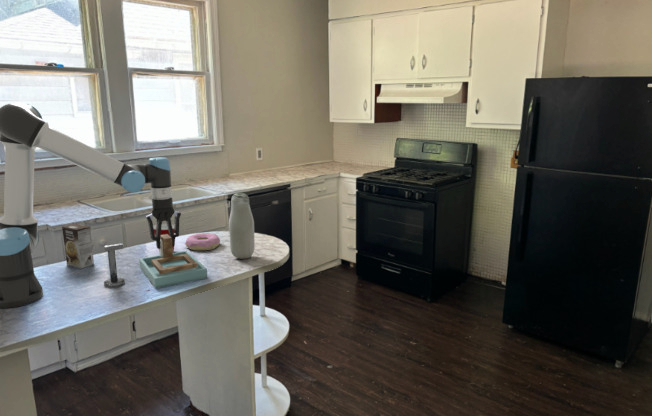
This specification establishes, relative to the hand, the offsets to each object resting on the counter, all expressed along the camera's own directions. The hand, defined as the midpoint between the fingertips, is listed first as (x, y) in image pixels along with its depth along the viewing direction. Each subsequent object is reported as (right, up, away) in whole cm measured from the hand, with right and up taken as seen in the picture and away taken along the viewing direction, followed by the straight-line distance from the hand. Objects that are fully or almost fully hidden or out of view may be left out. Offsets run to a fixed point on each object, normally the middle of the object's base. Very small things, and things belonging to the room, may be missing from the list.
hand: (166, 254), depth 191 cm
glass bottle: (+28, -3, +12) cm, 31 cm away
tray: (+4, -6, -5) cm, 9 cm away
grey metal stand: (-13, -9, -16) cm, 23 cm away
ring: (+4, -3, -6) cm, 8 cm away
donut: (+8, +1, +27) cm, 28 cm away
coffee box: (-36, -4, +3) cm, 36 cm away
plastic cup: (-6, -1, +20) cm, 21 cm away
